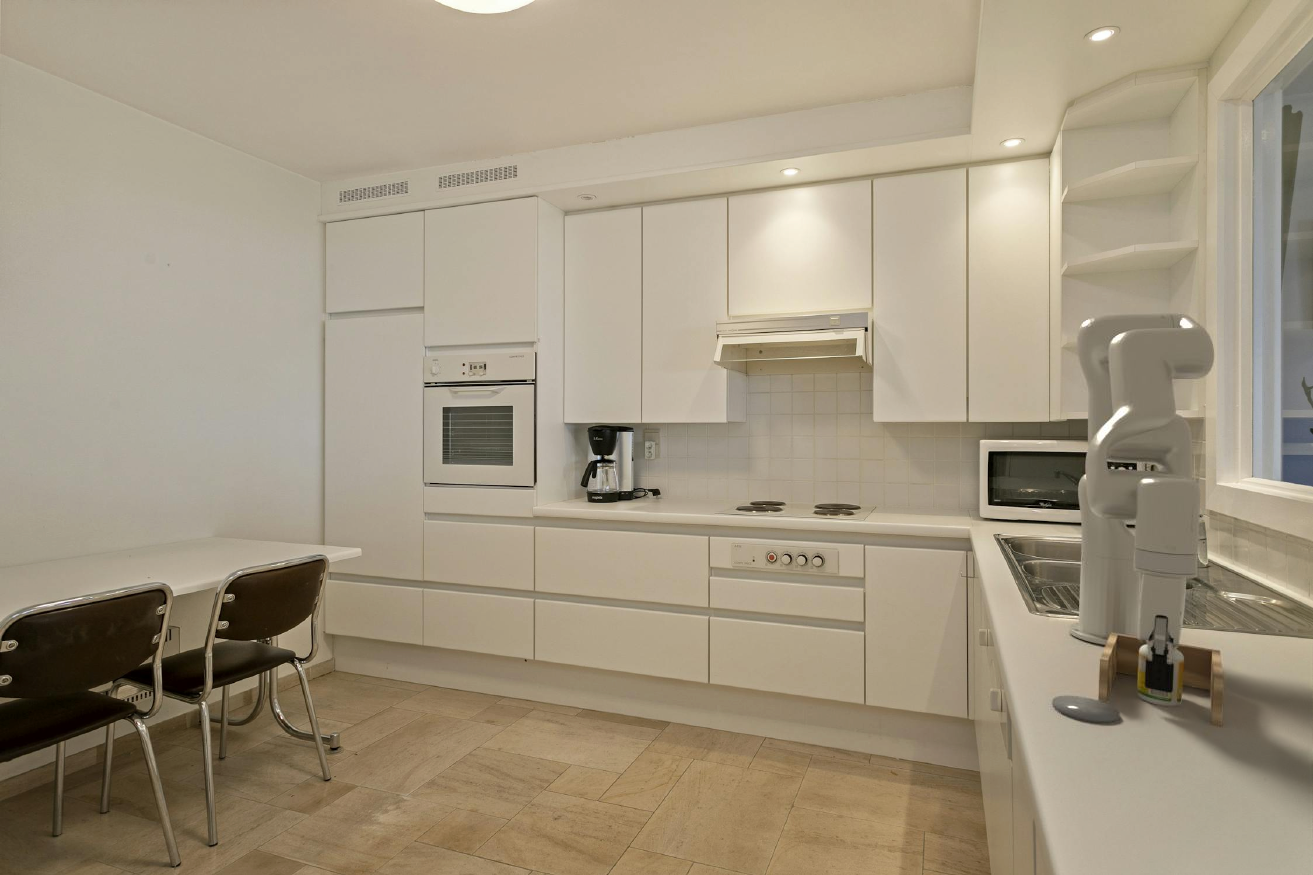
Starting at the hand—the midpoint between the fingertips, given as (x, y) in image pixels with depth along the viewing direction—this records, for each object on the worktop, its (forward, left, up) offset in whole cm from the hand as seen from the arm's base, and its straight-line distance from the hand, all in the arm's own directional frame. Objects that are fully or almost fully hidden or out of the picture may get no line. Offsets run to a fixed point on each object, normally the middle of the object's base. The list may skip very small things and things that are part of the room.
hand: (1160, 680), depth 104 cm
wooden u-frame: (-2, 0, -3) cm, 4 cm away
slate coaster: (+12, -8, -3) cm, 15 cm away
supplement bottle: (0, 0, -3) cm, 3 cm away
